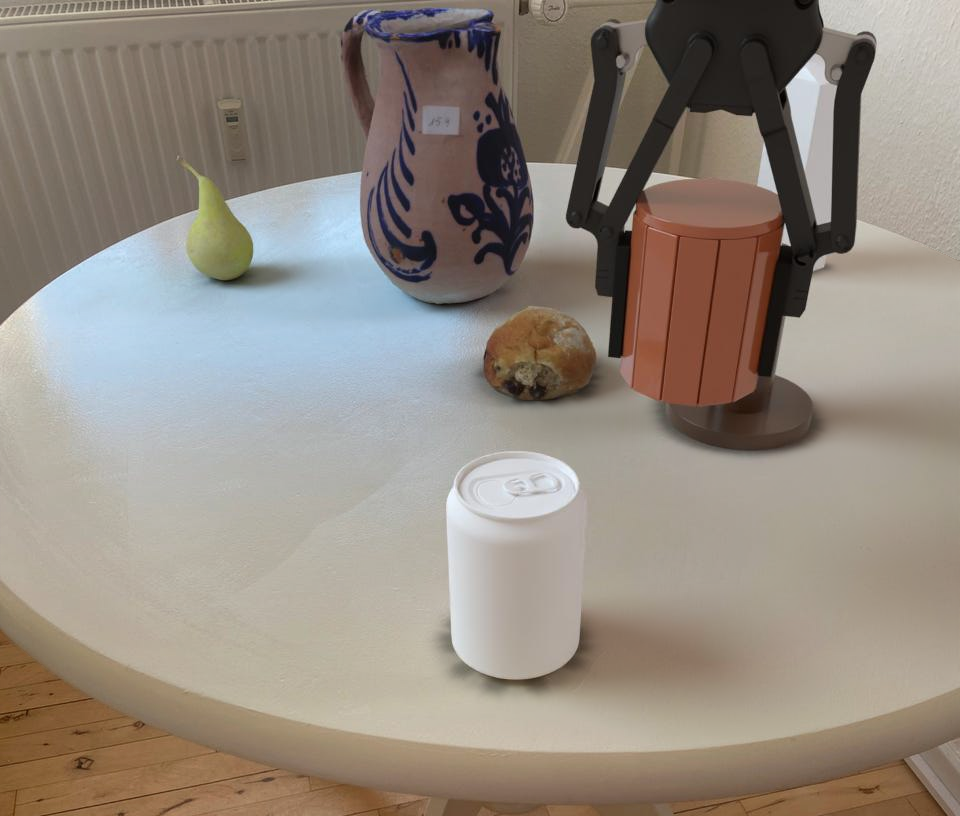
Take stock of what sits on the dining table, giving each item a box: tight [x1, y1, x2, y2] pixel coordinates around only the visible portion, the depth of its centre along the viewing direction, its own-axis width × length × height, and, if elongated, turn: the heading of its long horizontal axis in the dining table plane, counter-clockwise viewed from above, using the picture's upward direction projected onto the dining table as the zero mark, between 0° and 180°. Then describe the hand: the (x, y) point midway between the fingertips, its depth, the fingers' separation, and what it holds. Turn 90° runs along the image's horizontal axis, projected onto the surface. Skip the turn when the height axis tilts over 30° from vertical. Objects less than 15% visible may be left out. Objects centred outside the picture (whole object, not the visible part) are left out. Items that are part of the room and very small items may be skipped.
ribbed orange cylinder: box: [619, 178, 785, 406], centre depth 60 cm, size 8×8×10 cm
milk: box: [756, 54, 837, 272], centre depth 108 cm, size 6×6×22 cm
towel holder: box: [665, 243, 814, 452], centre depth 85 cm, size 12×12×14 cm
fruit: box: [176, 155, 254, 281], centre depth 111 cm, size 7×8×12 cm
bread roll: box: [483, 305, 597, 401], centre depth 94 cm, size 10×10×8 cm
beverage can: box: [445, 450, 588, 680], centre depth 64 cm, size 8×8×12 cm
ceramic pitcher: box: [340, 6, 535, 305], centre depth 104 cm, size 18×21×25 cm
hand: (691, 356), depth 62 cm, fingers closed on ribbed orange cylinder, 8 cm apart
